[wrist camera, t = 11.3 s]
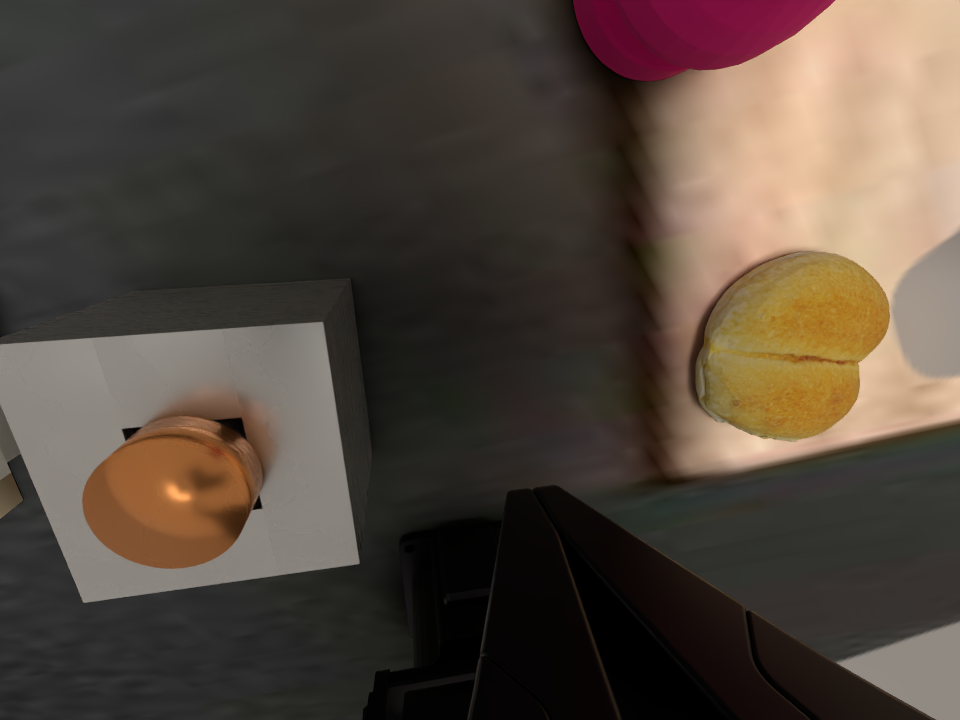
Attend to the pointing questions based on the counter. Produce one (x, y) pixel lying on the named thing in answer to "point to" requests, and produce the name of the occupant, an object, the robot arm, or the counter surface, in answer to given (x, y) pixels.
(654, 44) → the pepper mill
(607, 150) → the counter surface
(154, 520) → the plunger
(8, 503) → the rail
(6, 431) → the carriage
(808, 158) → the counter surface
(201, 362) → the cabinet
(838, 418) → the bread roll
